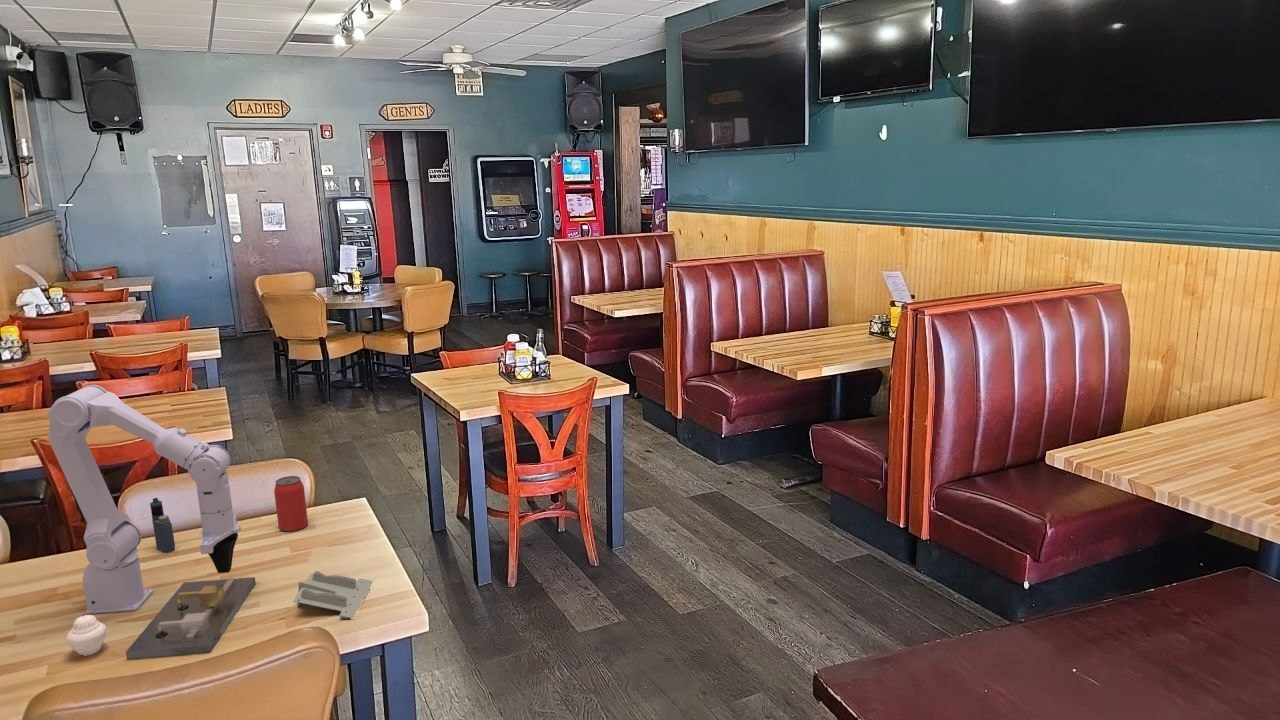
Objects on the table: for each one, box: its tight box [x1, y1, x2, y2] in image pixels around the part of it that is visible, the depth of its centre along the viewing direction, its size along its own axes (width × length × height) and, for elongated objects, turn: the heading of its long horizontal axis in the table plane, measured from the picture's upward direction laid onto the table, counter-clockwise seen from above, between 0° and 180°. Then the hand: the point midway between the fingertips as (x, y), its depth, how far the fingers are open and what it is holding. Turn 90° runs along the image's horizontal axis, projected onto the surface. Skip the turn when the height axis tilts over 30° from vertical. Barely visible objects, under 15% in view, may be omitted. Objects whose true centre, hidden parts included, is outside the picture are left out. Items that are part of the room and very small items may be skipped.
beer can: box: [273, 475, 309, 532], centre depth 204 cm, size 7×7×12 cm
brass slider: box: [178, 585, 225, 609], centre depth 164 cm, size 8×3×3 cm, turn 97°
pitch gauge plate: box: [125, 576, 257, 660], centre depth 164 cm, size 14×26×4 cm, turn 7°
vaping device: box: [149, 497, 176, 553], centre depth 193 cm, size 3×5×12 cm, turn 54°
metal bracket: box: [293, 570, 374, 620], centre depth 169 cm, size 14×6×15 cm
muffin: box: [66, 614, 108, 657], centre depth 153 cm, size 6×6×7 cm
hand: (224, 571), depth 172 cm, fingers closed
